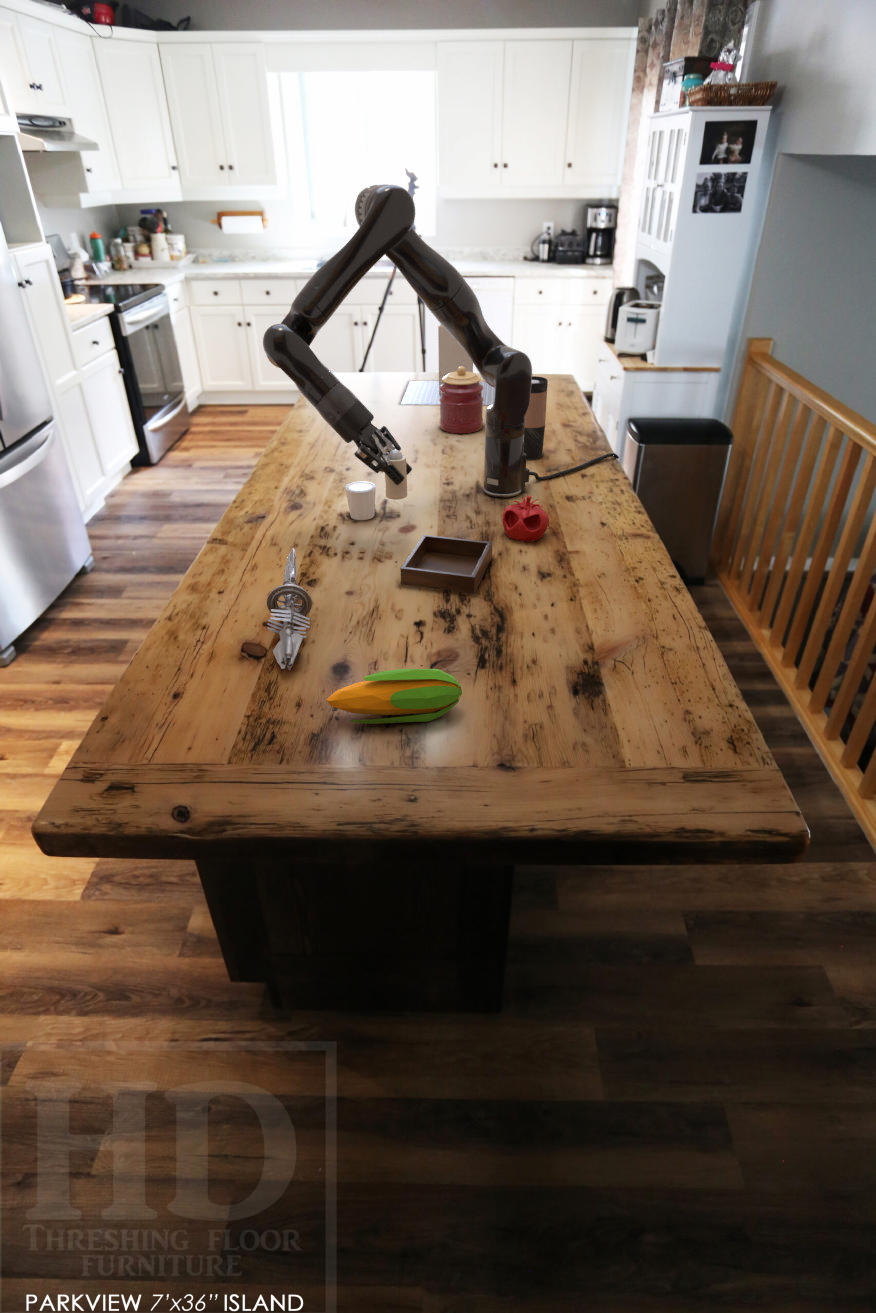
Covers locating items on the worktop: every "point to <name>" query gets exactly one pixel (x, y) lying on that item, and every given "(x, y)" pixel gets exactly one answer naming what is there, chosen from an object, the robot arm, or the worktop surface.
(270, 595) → the spaceship
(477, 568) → the tray
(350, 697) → the corn
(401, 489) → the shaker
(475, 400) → the kitchen canister
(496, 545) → the worktop surface
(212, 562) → the worktop surface
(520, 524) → the pomegranate
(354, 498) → the beige white cylinder
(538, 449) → the travel mug
